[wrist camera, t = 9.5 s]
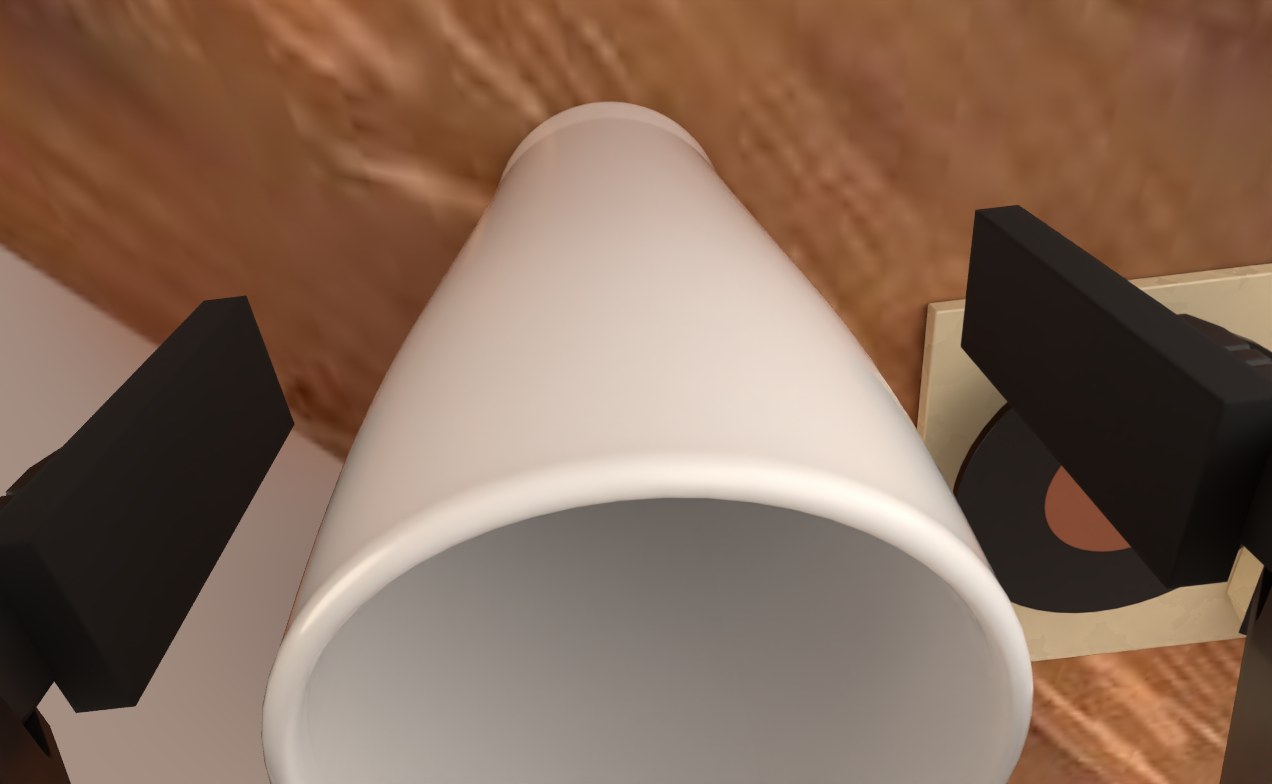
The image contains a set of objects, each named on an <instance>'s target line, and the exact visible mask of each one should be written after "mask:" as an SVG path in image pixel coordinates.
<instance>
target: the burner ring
mask: <svg viewBox="0 0 1272 784" xmlns="http://www.w3.org/2000/svg"><path fill="white" fill-rule="evenodd" d="M1233 334H1234V335H1236V336H1237V337H1239V338H1240V339H1242V340H1243V341H1245V342H1246V343H1248V344H1249V345H1250V349H1254V348H1255V349H1257V350H1258V351H1260V352H1261V353H1263V354H1264V355H1266V356H1267V357H1269V358H1270V359H1272V352H1271V351H1270V350H1268V349H1267V348H1265V347H1263V346H1262V345H1260V344H1258V343H1256V342H1255V341H1253V340H1251V339H1248V338H1245V337H1243V336H1240V335H1237V334H1235V333H1233ZM953 494H954V496H955V498H956V500H957V502H958V504H959V506H960V507H961V509H962V511H963V513H964V515H965V517H966V519H967V521H968V523H969V525H970V527H971V529H972V531H973V533H974V535H975V537H976V539H977V541H978V543H979V544H980V546H981V548H982V550H983V552H984V554H985V556H986V558H987V560H988V562H989V564H990V566H991V568H992V570H993V572H994V574H995V576H996V577H997V579H998V581H999V583H1000V584H1001V586H1002V588H1003V589H1004V591H1005V592H1006V594H1007V596H1008V598H1009V600H1010V602H1012V603H1015V604H1017V605H1020V606H1023V607H1027V608H1031V609H1035V610H1039V611H1047V612H1054V613H1089V612H1099V611H1105V610H1112V609H1118V608H1122V607H1126V606H1130V605H1134V604H1138V603H1141V602H1144V601H1147V600H1150V599H1153V598H1156V597H1159V596H1161V595H1164V594H1166V593H1168V592H1171V591H1173V590H1175V589H1178V588H1170V589H1166V588H1165V586H1164V585H1163V584H1162V583H1161V582H1160V581H1159V579H1158V578H1157V577H1156V576H1155V575H1154V574H1153V572H1152V571H1151V570H1150V569H1149V568H1148V566H1147V565H1146V564H1145V563H1144V562H1143V561H1142V559H1141V558H1140V557H1139V556H1138V555H1137V554H1136V552H1135V551H1134V550H1133V549H1132V548H1131V547H1130V545H1129V544H1128V543H1127V542H1126V541H1125V539H1124V538H1123V537H1122V536H1121V535H1120V534H1119V532H1118V531H1117V530H1116V529H1115V528H1114V527H1113V525H1112V524H1111V523H1110V522H1109V521H1108V519H1107V518H1106V517H1105V516H1104V515H1103V514H1102V512H1101V511H1100V510H1099V509H1098V508H1097V507H1096V505H1095V504H1094V503H1093V502H1092V501H1091V500H1090V498H1089V497H1088V496H1087V495H1086V494H1085V492H1084V491H1083V490H1082V489H1081V488H1080V487H1079V485H1078V484H1077V483H1076V482H1075V481H1074V480H1073V478H1072V477H1071V476H1070V475H1069V474H1068V472H1067V471H1066V470H1065V469H1064V468H1063V467H1062V465H1061V464H1060V463H1059V462H1058V461H1057V460H1056V458H1055V457H1054V456H1053V455H1052V454H1051V453H1050V451H1049V450H1048V449H1047V448H1046V447H1045V445H1044V444H1043V443H1042V442H1041V441H1040V440H1039V438H1038V437H1037V436H1036V435H1035V434H1034V433H1033V431H1032V430H1031V429H1030V428H1029V427H1028V425H1027V424H1026V423H1025V422H1024V421H1023V420H1022V418H1021V417H1020V416H1019V415H1018V414H1017V413H1016V411H1015V410H1014V409H1013V408H1012V407H1011V406H1010V404H1009V403H1008V402H1007V403H1006V404H1004V405H1003V406H1002V407H1001V408H1000V409H999V410H998V411H997V413H996V414H995V415H994V416H993V417H992V418H991V420H990V421H989V422H988V423H987V424H986V425H985V426H984V428H983V429H982V431H981V432H980V434H979V435H978V436H977V438H976V439H975V441H974V442H973V444H972V445H971V447H970V449H969V451H968V453H967V454H966V456H965V458H964V460H963V462H962V464H961V466H960V469H959V472H958V475H957V477H956V480H955V483H954V488H953ZM1242 547H1243V545H1242V544H1241V545H1240V548H1239V550H1240V549H1241V548H1242ZM1179 588H1180V587H1179Z"/></svg>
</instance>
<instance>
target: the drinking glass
mask: <svg viewBox="0 0 1272 784" xmlns="http://www.w3.org/2000/svg"><path fill="white" fill-rule="evenodd" d="M1032 708H1033V673H1032V666H1031V659H1030V652H1029V648H1028V645H1027V642H1026V639H1025V635H1024V632H1023V629H1022V626H1021V623H1020V620H1019V618H1018V616H1017V614H1016V612H1015V610H1014V608H1013V606H1012V604H1011V602H1010V600H1009V598H1008V596H1007V594H1006V592H1005V591H1004V589H1003V588H1002V586H1001V584H1000V583H999V581H998V579H997V577H996V576H995V574H994V572H993V570H992V568H991V566H990V564H989V562H988V560H987V558H986V556H985V554H984V552H983V550H982V548H981V546H980V544H979V543H978V541H977V539H976V537H975V535H974V533H973V531H972V529H971V527H970V525H969V523H968V521H967V519H966V517H965V515H964V513H963V511H962V509H961V507H960V506H959V504H958V502H957V500H956V498H955V496H954V494H953V492H952V490H951V489H950V487H949V485H948V483H947V481H946V479H945V478H944V476H943V474H942V472H941V470H940V468H939V467H938V465H937V463H936V461H935V460H934V458H933V456H932V454H931V453H930V451H929V449H928V447H927V446H926V444H925V442H924V440H923V439H922V437H921V435H920V434H919V432H918V430H917V429H916V427H915V425H914V424H913V422H912V421H911V419H910V417H909V416H908V414H907V412H906V411H905V409H904V408H903V406H902V404H901V403H900V401H899V400H898V398H897V397H896V395H895V394H894V392H893V391H892V389H891V388H890V386H889V384H888V383H887V381H886V380H885V378H884V377H883V375H882V374H881V372H880V371H879V369H878V368H877V366H876V365H875V363H874V362H873V361H872V359H871V358H870V356H869V355H868V353H867V352H866V351H865V349H864V348H863V346H862V345H861V344H860V342H859V341H858V339H857V338H856V337H855V335H854V334H853V333H852V331H851V330H850V329H849V328H848V326H847V325H846V324H845V322H844V321H843V320H842V318H841V317H840V316H839V315H838V313H837V312H836V311H835V310H834V309H833V308H832V306H831V305H830V304H829V303H828V302H827V300H826V299H825V298H824V297H823V296H822V294H821V293H820V292H819V291H818V290H817V289H816V287H815V286H814V285H813V284H812V283H811V282H810V280H809V279H808V278H807V277H806V276H805V275H804V273H803V272H802V271H801V270H800V269H799V268H798V267H797V265H796V264H795V263H794V262H793V261H792V260H791V259H790V257H789V256H788V255H787V254H786V253H785V252H784V251H783V250H782V248H781V247H780V246H779V245H778V244H777V243H776V242H775V240H774V239H773V238H772V237H771V236H770V235H769V234H768V233H767V231H766V230H765V229H764V228H763V227H762V226H761V225H760V223H759V222H758V221H757V220H756V219H755V218H754V217H753V215H752V214H751V213H750V212H749V211H748V210H747V209H746V207H745V206H744V205H743V204H742V203H741V202H740V200H739V199H738V198H737V197H736V196H735V195H734V193H733V192H732V191H731V190H730V189H729V187H728V186H727V185H726V184H725V183H724V181H723V180H722V179H721V178H720V177H719V175H718V174H717V172H716V170H715V168H714V166H713V164H712V163H711V161H710V159H709V157H708V156H707V154H706V153H705V151H704V150H703V148H702V147H701V146H700V145H699V143H698V142H697V141H696V140H695V139H694V138H693V137H692V136H691V135H690V134H689V133H688V132H687V131H686V130H685V129H684V128H683V127H681V126H680V125H679V124H677V123H676V122H675V121H673V120H671V119H670V118H668V117H667V116H665V115H663V114H661V113H659V112H657V111H654V110H652V109H649V108H646V107H643V106H639V105H636V104H631V103H624V102H611V101H607V102H594V103H588V104H583V105H579V106H576V107H572V108H570V109H567V110H565V111H562V112H560V113H558V114H556V115H554V116H552V117H551V118H549V119H548V120H546V121H544V122H543V123H541V124H540V125H539V126H538V127H536V128H535V129H534V130H533V131H532V132H531V133H530V134H529V135H528V136H527V137H525V138H524V140H523V141H522V142H521V143H520V145H519V146H518V147H517V148H516V150H515V151H514V153H513V154H512V156H511V157H510V159H509V161H508V163H507V165H506V167H505V169H504V171H503V174H502V176H501V179H500V181H499V184H498V188H497V191H496V193H495V194H494V196H493V198H492V199H491V201H490V203H489V204H488V206H487V208H486V209H485V211H484V213H483V214H482V216H481V218H480V219H479V221H478V223H477V224H476V226H475V227H474V229H473V231H472V232H471V234H470V235H469V237H468V239H467V240H466V242H465V244H464V245H463V247H462V248H461V250H460V252H459V253H458V255H457V256H456V258H455V259H454V261H453V263H452V264H451V266H450V267H449V269H448V270H447V272H446V274H445V275H444V277H443V278H442V280H441V282H440V283H439V285H438V286H437V288H436V289H435V291H434V293H433V294H432V296H431V297H430V299H429V301H428V302H427V304H426V305H425V307H424V308H423V310H422V312H421V313H420V315H419V316H418V318H417V320H416V321H415V323H414V325H413V326H412V328H411V330H410V331H409V333H408V335H407V336H406V338H405V340H404V341H403V343H402V345H401V347H400V348H399V350H398V352H397V354H396V356H395V358H394V359H393V361H392V363H391V365H390V367H389V369H388V371H387V372H386V374H385V376H384V378H383V380H382V382H381V384H380V386H379V388H378V390H377V392H376V394H375V396H374V398H373V400H372V402H371V404H370V406H369V408H368V410H367V412H366V414H365V416H364V419H363V421H362V423H361V425H360V428H359V430H358V432H357V434H356V437H355V439H354V441H353V443H352V446H351V448H350V451H349V453H348V455H347V458H346V460H345V463H344V465H343V468H342V471H341V473H340V475H339V478H338V480H337V483H336V486H335V488H334V491H333V494H332V496H331V499H330V501H329V504H328V507H327V509H326V512H325V515H324V518H323V520H322V523H321V526H320V528H319V531H318V534H317V537H316V540H315V542H314V546H313V548H312V551H311V554H310V557H309V559H308V562H307V565H306V568H305V571H304V574H303V577H302V580H301V583H300V586H299V589H298V592H297V595H296V598H295V601H294V605H293V608H292V611H291V614H290V617H289V620H288V623H287V627H286V630H285V633H284V636H283V639H282V642H281V644H280V647H279V650H278V652H277V655H276V658H275V660H274V663H273V666H272V668H271V671H270V674H269V677H268V682H267V687H266V692H265V697H264V701H263V708H262V732H261V737H262V745H263V752H264V753H263V754H264V762H265V766H266V769H267V773H268V776H269V780H270V783H271V784H1007V783H1008V781H1009V779H1010V778H1011V775H1012V773H1013V771H1014V769H1015V767H1016V765H1017V763H1018V760H1019V758H1020V756H1021V753H1022V750H1023V747H1024V744H1025V741H1026V738H1027V735H1028V731H1029V726H1030V720H1031V714H1032Z"/></svg>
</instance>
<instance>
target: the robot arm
mask: <svg viewBox="0 0 1272 784" xmlns="http://www.w3.org/2000/svg"><path fill="white" fill-rule="evenodd" d="M960 347H961V348H962V349H963V350H964V351H965V353H966V354H967V355H968V356H969V357H970V359H971V360H972V361H973V362H974V363H975V364H976V366H977V367H978V368H979V369H980V370H981V371H982V373H983V374H984V375H985V376H986V377H987V378H988V380H989V381H990V382H991V383H992V384H993V386H994V387H995V388H996V389H997V390H998V391H999V393H1000V394H1001V395H1002V396H1003V397H1004V398H1005V400H1006V401H1007V402H1008V403H1009V404H1010V406H1011V407H1012V408H1013V409H1014V410H1015V411H1016V413H1017V414H1018V415H1019V416H1020V417H1021V418H1022V420H1023V421H1024V422H1025V423H1026V424H1027V425H1028V427H1029V428H1030V429H1031V430H1032V431H1033V433H1034V434H1035V435H1036V436H1037V437H1038V438H1039V440H1040V441H1041V442H1042V443H1043V444H1044V445H1045V447H1046V448H1047V449H1048V450H1049V451H1050V453H1051V454H1052V455H1053V456H1054V457H1055V458H1056V460H1057V461H1058V462H1059V463H1060V464H1061V465H1062V467H1063V468H1064V469H1065V470H1066V471H1067V472H1068V474H1069V475H1070V476H1071V477H1072V478H1073V480H1074V481H1075V482H1076V483H1077V484H1078V485H1079V487H1080V488H1081V489H1082V490H1083V491H1084V492H1085V494H1086V495H1087V496H1088V497H1089V498H1090V500H1091V501H1092V502H1093V503H1094V504H1095V505H1096V507H1097V508H1098V509H1099V510H1100V511H1101V512H1102V514H1103V515H1104V516H1105V517H1106V518H1107V519H1108V521H1109V522H1110V523H1111V524H1112V525H1113V527H1114V528H1115V529H1116V530H1117V531H1118V532H1119V534H1120V535H1121V536H1122V537H1123V538H1124V539H1125V541H1126V542H1127V543H1128V544H1129V545H1130V547H1131V548H1132V549H1133V550H1134V551H1135V552H1136V554H1137V555H1138V556H1139V557H1140V558H1141V559H1142V561H1143V562H1144V563H1145V564H1146V565H1147V566H1148V568H1149V569H1150V570H1151V571H1152V572H1153V574H1154V575H1155V576H1156V577H1157V578H1158V579H1159V581H1160V582H1161V583H1162V584H1163V585H1164V586H1165V588H1166V589H1170V588H1179V587H1188V586H1197V585H1205V584H1214V583H1223V582H1228V579H1229V576H1230V573H1231V570H1232V568H1233V565H1234V562H1235V559H1236V556H1237V554H1238V551H1239V548H1240V545H1241V544H1242V545H1243V546H1244V547H1245V548H1246V549H1247V550H1248V551H1249V552H1250V553H1251V554H1252V555H1254V556H1255V557H1256V558H1257V559H1258V560H1259V561H1260V562H1261V563H1262V564H1263V565H1264V567H1263V569H1262V572H1261V575H1260V577H1259V580H1258V582H1257V585H1256V588H1255V590H1254V593H1253V595H1252V598H1251V601H1250V603H1249V606H1248V609H1247V611H1246V614H1245V616H1244V619H1243V622H1242V624H1241V627H1240V630H1239V632H1238V633H1240V634H1243V635H1246V642H1245V647H1244V653H1243V658H1242V663H1241V669H1240V674H1239V680H1238V685H1237V691H1236V696H1235V702H1234V707H1233V713H1232V718H1231V724H1230V729H1229V735H1228V740H1227V746H1226V751H1225V757H1224V762H1223V768H1222V773H1221V779H1220V784H1272V359H1270V358H1269V357H1267V356H1266V355H1264V354H1263V353H1261V352H1260V351H1258V350H1257V349H1255V348H1254V349H1250V345H1249V344H1248V343H1246V342H1245V341H1243V340H1242V339H1240V338H1239V337H1237V336H1236V335H1234V334H1233V333H1231V332H1230V331H1228V330H1227V329H1225V328H1223V327H1221V326H1218V325H1216V324H1213V323H1210V322H1208V321H1205V320H1202V319H1199V318H1197V317H1194V316H1191V315H1189V314H1186V313H1185V314H1176V313H1174V312H1173V311H1171V310H1170V309H1168V308H1167V307H1165V306H1164V305H1163V304H1161V303H1160V302H1158V301H1157V300H1155V299H1154V298H1152V297H1151V296H1149V295H1148V294H1147V293H1145V292H1144V291H1142V290H1141V289H1139V288H1138V287H1136V286H1135V285H1134V284H1132V283H1131V282H1129V281H1128V280H1126V279H1125V278H1123V277H1122V276H1120V275H1119V274H1118V273H1116V272H1115V271H1113V270H1112V269H1110V268H1109V267H1107V266H1106V265H1105V264H1103V263H1102V262H1100V261H1099V260H1097V259H1096V258H1094V257H1093V256H1091V255H1090V254H1089V253H1087V252H1086V251H1084V250H1083V249H1081V248H1080V247H1078V246H1077V245H1076V244H1074V243H1073V242H1071V241H1070V240H1068V239H1067V238H1065V237H1064V236H1063V235H1061V234H1060V233H1058V232H1057V231H1055V230H1054V229H1052V228H1051V227H1049V226H1048V225H1047V224H1045V223H1044V222H1042V221H1041V220H1039V219H1038V218H1036V217H1035V216H1034V215H1032V214H1031V213H1029V212H1028V211H1026V210H1025V209H1023V208H1022V207H1020V206H1019V205H1014V206H1006V207H997V208H989V209H980V210H975V219H974V228H973V237H972V246H971V255H970V264H969V273H968V282H967V291H966V300H965V309H964V318H963V328H962V337H961V346H960ZM293 426H294V421H293V418H292V416H291V413H290V411H289V408H288V405H287V403H286V400H285V397H284V395H283V392H282V389H281V387H280V384H279V381H278V379H277V376H276V373H275V371H274V368H273V365H272V363H271V360H270V357H269V355H268V352H267V349H266V347H265V344H264V341H263V339H262V336H261V334H260V331H259V328H258V326H257V323H256V320H255V318H254V315H253V312H252V310H251V307H250V304H249V302H248V299H247V296H240V297H231V298H223V299H214V300H206V301H203V302H202V303H201V304H200V305H199V306H198V307H197V308H196V310H195V311H194V312H193V313H192V314H191V315H190V316H189V317H188V318H187V319H186V320H185V321H184V322H183V323H182V324H181V325H180V326H179V327H178V328H177V329H176V330H175V331H174V332H173V333H172V334H171V335H170V336H169V337H168V338H167V339H166V340H165V341H164V343H163V344H162V345H161V346H160V347H159V348H158V349H157V350H156V351H155V352H154V353H153V354H152V355H151V356H150V357H149V358H148V359H147V360H146V361H145V362H144V363H143V364H142V365H141V366H140V367H139V368H138V370H136V371H135V372H134V373H133V374H132V376H131V377H130V378H129V379H128V380H127V381H126V382H125V383H124V384H123V385H122V386H121V387H120V388H119V389H118V390H117V391H116V392H115V393H114V394H113V395H112V396H111V397H110V398H109V399H108V400H107V401H106V402H105V404H103V405H102V406H101V407H100V409H99V410H98V411H97V412H96V413H95V414H94V415H93V416H92V417H91V418H90V419H89V420H88V421H87V422H86V423H85V424H84V425H83V426H82V427H81V428H80V429H79V430H78V431H77V432H76V433H75V434H74V435H73V436H72V437H71V438H70V439H69V440H68V442H67V443H66V444H65V445H64V446H63V447H61V448H60V449H58V450H57V451H55V452H53V453H52V454H51V455H49V456H47V457H46V458H44V459H43V460H41V461H40V462H38V463H37V464H35V465H33V466H32V467H30V468H29V469H28V470H27V471H26V472H25V473H24V474H23V475H22V476H21V477H20V478H19V479H18V480H17V481H16V482H15V483H14V484H13V485H12V486H11V487H10V488H9V489H8V490H7V491H6V496H1V497H0V784H71V783H70V780H69V777H68V774H67V772H66V769H65V766H64V763H63V761H62V758H61V755H60V752H59V750H58V747H57V744H56V741H55V739H54V736H53V733H52V730H51V728H50V725H49V724H48V723H47V721H46V720H45V718H44V717H43V716H42V714H41V713H40V712H39V710H38V709H37V705H38V704H39V702H40V701H41V700H42V698H43V697H44V695H45V694H46V692H47V691H48V689H49V688H50V686H51V685H52V684H53V682H55V683H56V684H57V686H58V687H59V689H60V690H61V692H62V693H63V695H64V696H65V698H66V699H67V700H68V702H69V703H70V705H71V706H72V708H73V709H74V711H75V712H76V713H79V712H89V711H97V710H107V709H115V708H124V707H133V706H136V705H137V703H138V701H139V699H140V697H141V696H142V694H143V692H144V690H145V689H146V687H147V685H148V683H149V682H150V680H151V678H152V676H153V674H154V673H155V671H156V669H157V667H158V666H159V664H160V662H161V660H162V658H163V657H164V655H165V653H166V651H167V650H168V648H169V646H170V644H171V642H172V640H173V639H174V637H175V635H176V634H177V632H178V630H179V628H180V627H181V625H182V623H183V621H184V619H185V618H186V616H187V614H188V612H189V611H190V609H191V607H192V605H193V603H194V602H195V600H196V598H197V596H198V595H199V593H200V591H201V589H202V587H203V586H204V583H205V582H206V580H207V579H208V577H209V575H210V573H211V571H212V570H213V568H214V566H215V564H216V562H217V561H218V559H219V557H220V556H221V554H222V552H223V550H224V548H225V547H226V545H227V543H228V541H229V540H230V538H231V536H232V534H233V532H234V531H235V529H236V527H237V525H238V523H239V522H240V520H241V518H242V516H243V514H244V513H245V511H246V509H247V508H248V506H249V504H250V502H251V501H252V499H253V497H254V495H255V493H256V492H257V490H258V488H259V486H260V484H261V483H262V481H263V479H264V477H265V475H266V474H267V472H268V470H269V468H270V467H271V465H272V463H273V461H274V460H275V458H276V456H277V454H278V452H279V451H280V449H281V447H282V445H283V444H284V442H285V440H286V438H287V436H288V435H289V433H290V431H291V430H292V428H293Z"/></svg>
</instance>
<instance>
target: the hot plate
mask: <svg viewBox="0 0 1272 784" xmlns="http://www.w3.org/2000/svg"><path fill="white" fill-rule="evenodd" d="M1128 281H1129V282H1131V283H1132V284H1134V285H1135V286H1136V287H1138V288H1139V289H1141V290H1142V291H1144V292H1145V293H1147V294H1148V295H1149V296H1151V297H1152V298H1154V299H1155V300H1157V301H1158V302H1160V303H1161V304H1163V305H1164V306H1165V307H1167V308H1168V309H1170V310H1171V311H1173V312H1174V313H1176V314H1185V313H1186V314H1189V315H1191V316H1194V317H1197V318H1199V319H1202V320H1205V321H1208V322H1210V323H1213V324H1216V325H1218V326H1221V327H1223V328H1225V329H1227V330H1228V331H1230V332H1231V333H1235V334H1237V335H1240V336H1243V337H1245V338H1248V339H1251V340H1253V341H1255V342H1256V343H1258V344H1260V345H1262V346H1263V347H1265V348H1267V349H1268V350H1270V351H1271V352H1272V263H1270V264H1261V265H1253V266H1244V267H1235V268H1227V269H1218V270H1210V271H1201V272H1193V273H1184V274H1175V275H1167V276H1158V277H1150V278H1141V279H1133V280H1128ZM965 300H966V299H961V300H953V301H944V302H936V303H929V304H928V312H927V323H926V334H925V345H924V356H923V368H922V379H921V390H920V401H919V412H918V424H917V430H918V432H919V434H920V435H921V437H922V439H923V440H924V442H925V444H926V446H927V447H928V449H929V451H930V453H931V454H932V456H933V458H934V460H935V461H936V463H937V465H938V467H939V468H940V470H941V472H942V474H943V476H944V478H945V479H946V481H947V483H948V485H949V487H950V489H951V490H952V492H953V488H954V483H955V480H956V477H957V475H958V472H959V469H960V466H961V464H962V462H963V460H964V458H965V456H966V454H967V453H968V451H969V449H970V447H971V445H972V444H973V442H974V441H975V439H976V438H977V436H978V435H979V434H980V432H981V431H982V429H983V428H984V426H985V425H986V424H987V423H988V422H989V421H990V420H991V418H992V417H993V416H994V415H995V414H996V413H997V411H998V410H999V409H1000V408H1001V407H1002V406H1003V405H1004V404H1006V403H1007V401H1006V400H1005V398H1004V397H1003V396H1002V395H1001V394H1000V393H999V391H998V390H997V389H996V388H995V387H994V386H993V384H992V383H991V382H990V381H989V380H988V378H987V377H986V376H985V375H984V374H983V373H982V371H981V370H980V369H979V368H978V367H977V366H976V364H975V363H974V362H973V361H972V360H971V359H970V357H969V356H968V355H967V354H966V353H965V351H964V350H963V349H962V348H961V347H960V346H961V337H962V328H963V318H964V309H965ZM1263 567H1264V565H1263V564H1262V563H1261V562H1260V561H1259V560H1258V559H1257V558H1256V557H1255V556H1254V555H1252V554H1251V553H1250V552H1249V551H1248V550H1247V549H1246V548H1245V547H1244V546H1243V547H1242V548H1241V549H1240V550H1239V551H1238V554H1237V556H1236V559H1235V562H1234V565H1233V568H1232V570H1231V573H1230V576H1229V579H1228V582H1223V583H1214V584H1205V585H1197V586H1188V587H1180V588H1178V589H1175V590H1173V591H1171V592H1168V593H1166V594H1164V595H1161V596H1159V597H1156V598H1153V599H1150V600H1147V601H1144V602H1141V603H1138V604H1134V605H1130V606H1126V607H1122V608H1118V609H1112V610H1105V611H1099V612H1089V613H1054V612H1047V611H1039V610H1035V609H1031V608H1027V607H1023V606H1020V605H1017V604H1015V603H1012V602H1011V604H1012V606H1013V608H1014V610H1015V612H1016V614H1017V616H1018V618H1019V620H1020V623H1021V626H1022V629H1023V632H1024V635H1025V639H1026V642H1027V645H1028V648H1029V652H1030V659H1031V662H1033V661H1042V660H1051V659H1059V658H1068V657H1077V656H1086V655H1095V654H1104V653H1112V652H1121V651H1130V650H1139V649H1148V648H1157V647H1165V646H1174V645H1183V644H1192V643H1201V642H1210V641H1218V640H1227V639H1236V638H1245V637H1246V635H1243V634H1240V633H1238V632H1239V630H1240V627H1241V624H1242V622H1243V619H1244V616H1245V614H1246V611H1247V609H1248V606H1249V603H1250V601H1251V598H1252V595H1253V593H1254V590H1255V588H1256V585H1257V582H1258V580H1259V577H1260V575H1261V572H1262V569H1263Z"/></svg>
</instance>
